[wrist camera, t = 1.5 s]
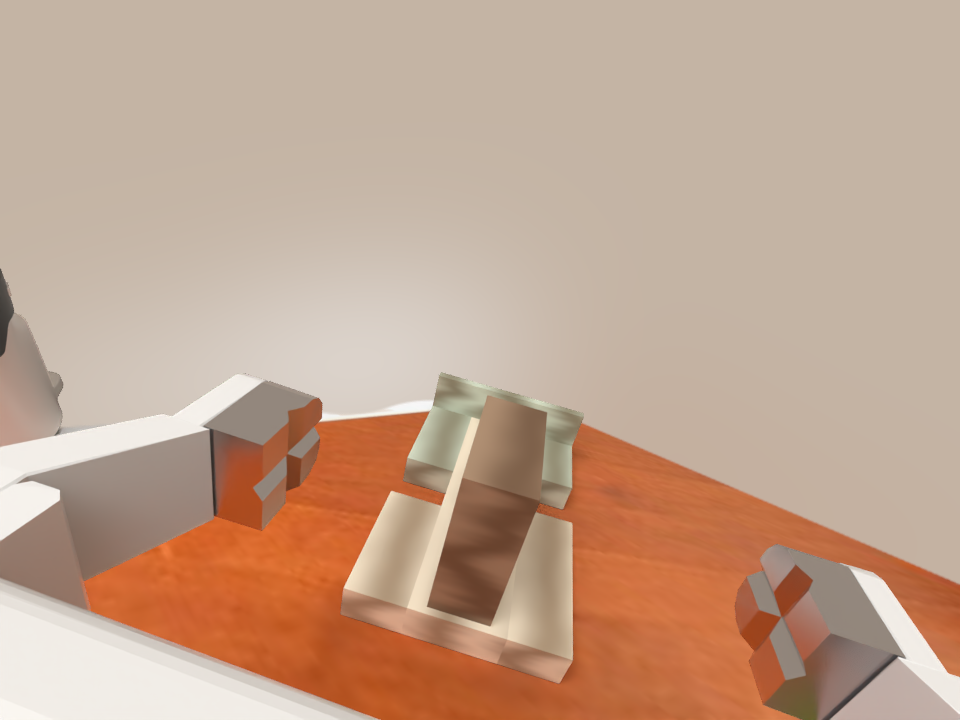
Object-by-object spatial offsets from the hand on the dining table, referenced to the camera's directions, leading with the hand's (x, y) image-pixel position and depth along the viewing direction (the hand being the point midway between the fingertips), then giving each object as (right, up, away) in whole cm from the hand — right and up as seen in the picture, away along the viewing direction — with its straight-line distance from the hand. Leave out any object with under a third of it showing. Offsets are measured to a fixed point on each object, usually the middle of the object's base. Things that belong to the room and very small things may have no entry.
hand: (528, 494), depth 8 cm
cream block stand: (-1, -12, +35) cm, 37 cm away
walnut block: (-2, -13, +27) cm, 30 cm away
